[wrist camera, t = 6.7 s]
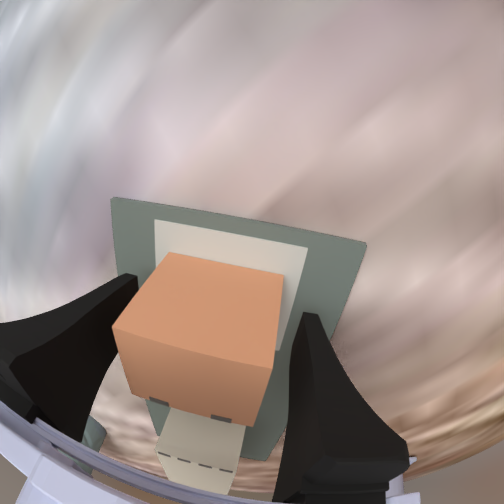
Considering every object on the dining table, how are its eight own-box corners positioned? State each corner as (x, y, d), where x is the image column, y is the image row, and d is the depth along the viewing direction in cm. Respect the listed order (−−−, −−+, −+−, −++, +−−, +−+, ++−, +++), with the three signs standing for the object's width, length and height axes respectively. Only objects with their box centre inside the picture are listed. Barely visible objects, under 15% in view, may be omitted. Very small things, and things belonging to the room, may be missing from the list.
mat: (265, 458, 23) (265, 461, 22) (158, 433, 24) (157, 435, 23) (365, 242, 11) (367, 246, 11) (114, 197, 12) (109, 199, 11)
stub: (267, 341, 14) (252, 427, 10) (171, 319, 14) (131, 394, 10) (283, 274, 12) (272, 370, 8) (168, 252, 12) (111, 327, 8)
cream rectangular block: (236, 453, 22) (226, 497, 18) (184, 440, 23) (170, 483, 18) (249, 407, 17) (236, 472, 13) (177, 389, 18) (153, 450, 13)
